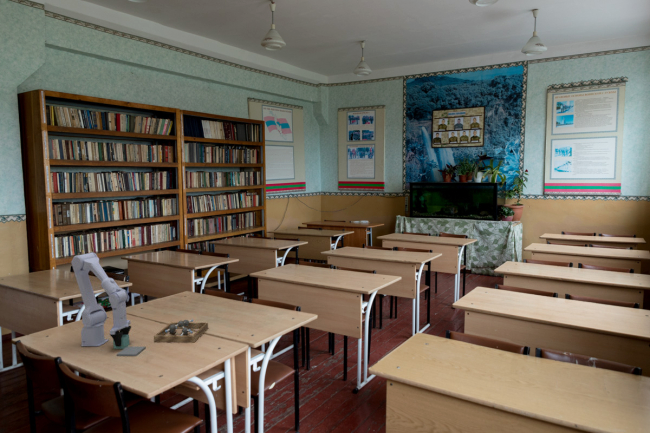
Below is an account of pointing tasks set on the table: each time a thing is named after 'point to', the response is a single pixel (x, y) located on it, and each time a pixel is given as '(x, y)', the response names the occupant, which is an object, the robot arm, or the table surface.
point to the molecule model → (180, 324)
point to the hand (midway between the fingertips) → (121, 343)
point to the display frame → (161, 338)
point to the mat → (131, 351)
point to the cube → (123, 342)
